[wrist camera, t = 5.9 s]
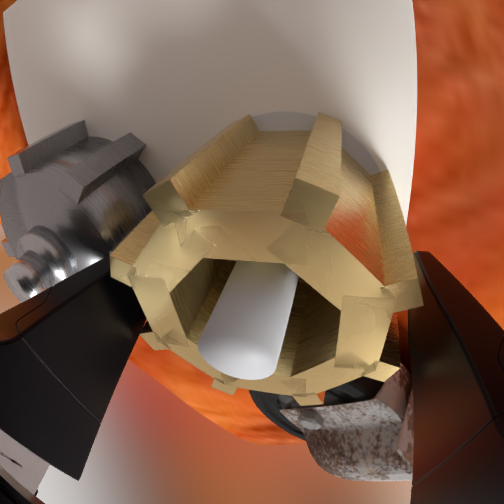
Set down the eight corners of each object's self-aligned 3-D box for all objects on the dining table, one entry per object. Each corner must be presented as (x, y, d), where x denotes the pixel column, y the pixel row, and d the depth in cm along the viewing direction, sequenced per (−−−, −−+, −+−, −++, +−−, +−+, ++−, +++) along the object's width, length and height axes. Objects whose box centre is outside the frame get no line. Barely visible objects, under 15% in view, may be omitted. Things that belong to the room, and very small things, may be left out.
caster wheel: (259, 323, 21) (392, 269, 14) (345, 421, 22) (464, 402, 15) (200, 398, 16) (355, 382, 9) (311, 491, 17) (445, 496, 10)
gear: (159, 102, 9) (32, 167, 5) (202, 287, 14) (147, 391, 10) (26, 138, 12) (-63, 195, 7) (78, 271, 16) (19, 340, 12)
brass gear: (399, 115, 8) (452, 187, 4) (380, 294, 12) (380, 412, 8) (180, 120, 10) (74, 187, 6) (214, 281, 13) (165, 379, 10)
